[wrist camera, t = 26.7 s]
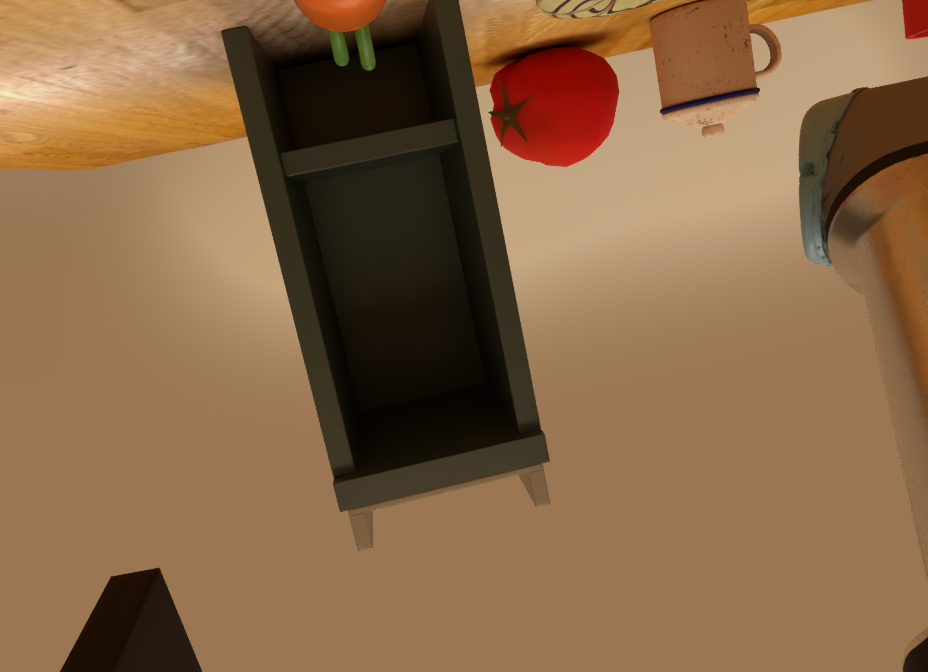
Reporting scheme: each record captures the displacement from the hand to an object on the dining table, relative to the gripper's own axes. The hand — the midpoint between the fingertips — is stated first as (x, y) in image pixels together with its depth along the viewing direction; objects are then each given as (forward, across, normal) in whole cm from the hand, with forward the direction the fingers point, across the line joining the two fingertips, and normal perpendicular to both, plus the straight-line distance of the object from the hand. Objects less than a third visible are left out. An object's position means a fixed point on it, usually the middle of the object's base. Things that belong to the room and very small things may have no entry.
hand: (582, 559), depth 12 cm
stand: (+47, -6, +8) cm, 48 cm away
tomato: (+72, +12, +4) cm, 73 cm away
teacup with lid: (+65, +27, +5) cm, 71 cm away
